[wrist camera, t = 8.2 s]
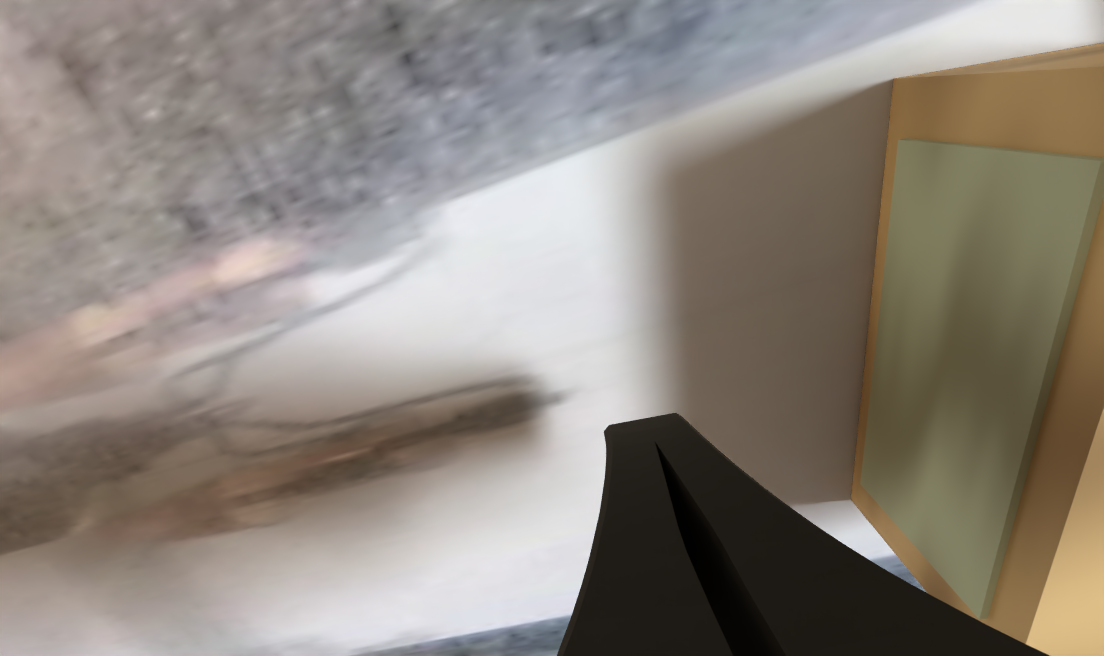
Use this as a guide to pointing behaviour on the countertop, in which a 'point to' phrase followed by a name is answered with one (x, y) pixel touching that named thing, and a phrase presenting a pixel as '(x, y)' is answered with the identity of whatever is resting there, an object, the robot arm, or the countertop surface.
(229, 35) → the countertop surface
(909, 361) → the tan wooden block
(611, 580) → the robot arm
